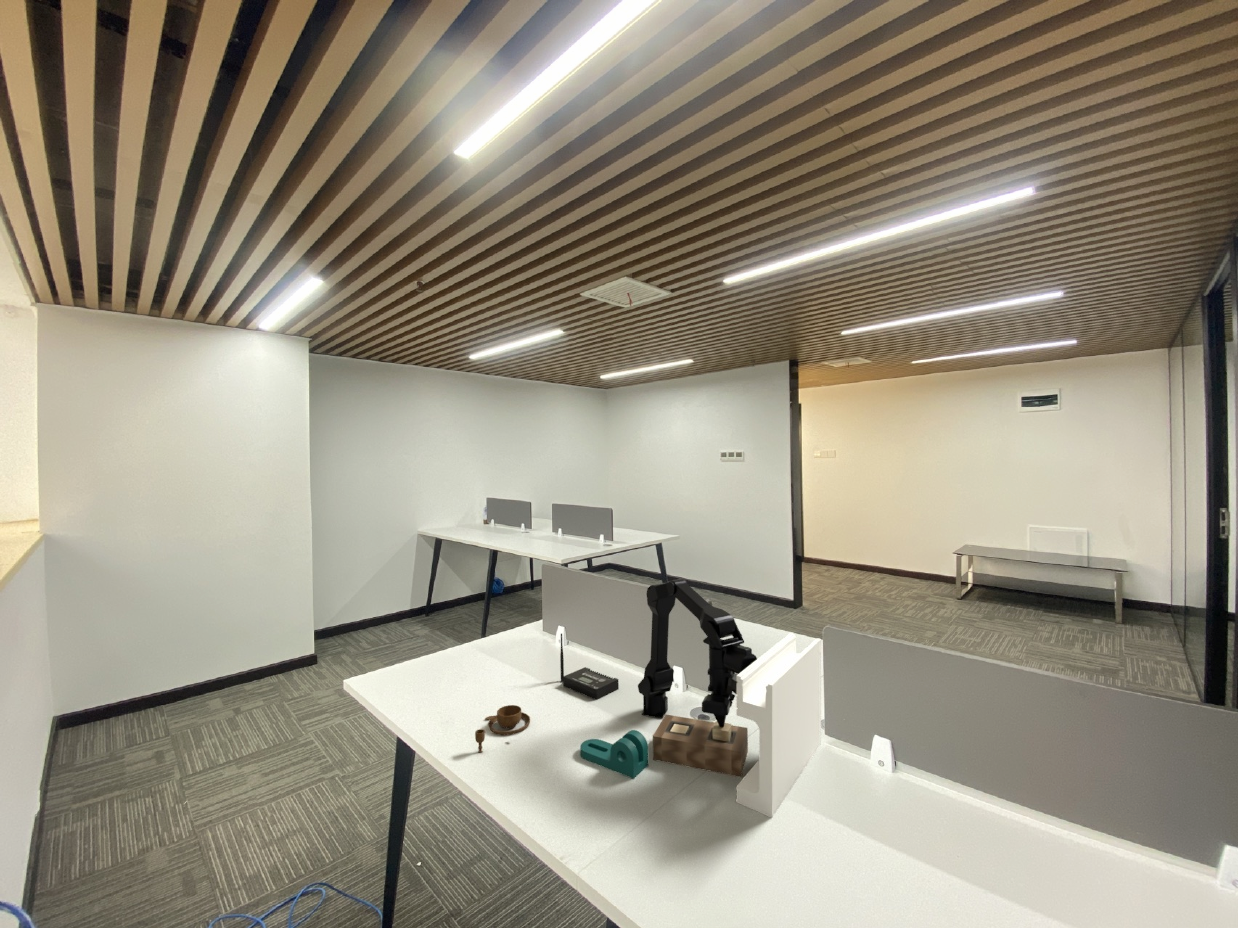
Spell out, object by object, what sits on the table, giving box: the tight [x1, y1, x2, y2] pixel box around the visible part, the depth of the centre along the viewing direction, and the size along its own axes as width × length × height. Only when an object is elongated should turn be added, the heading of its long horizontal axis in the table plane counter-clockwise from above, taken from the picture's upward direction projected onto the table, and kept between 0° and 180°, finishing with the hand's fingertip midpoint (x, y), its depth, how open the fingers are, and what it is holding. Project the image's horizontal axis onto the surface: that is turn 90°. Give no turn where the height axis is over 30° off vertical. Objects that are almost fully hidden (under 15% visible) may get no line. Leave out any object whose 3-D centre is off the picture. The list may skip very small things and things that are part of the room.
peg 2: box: [713, 720, 732, 742], centre depth 129 cm, size 4×4×6 cm
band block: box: [652, 714, 749, 778], centre depth 131 cm, size 22×12×6 cm, turn 69°
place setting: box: [474, 704, 531, 754], centre depth 146 cm, size 18×20×6 cm
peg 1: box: [670, 724, 689, 734], centre depth 133 cm, size 4×4×6 cm
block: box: [736, 632, 822, 818], centre depth 124 cm, size 35×8×28 cm, turn 143°
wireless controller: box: [559, 633, 620, 701], centre depth 174 cm, size 20×14×17 cm
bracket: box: [579, 729, 649, 780], centre depth 130 cm, size 18×7×8 cm, turn 56°
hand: (721, 726), depth 129 cm, fingers closed, pressing on peg 2
